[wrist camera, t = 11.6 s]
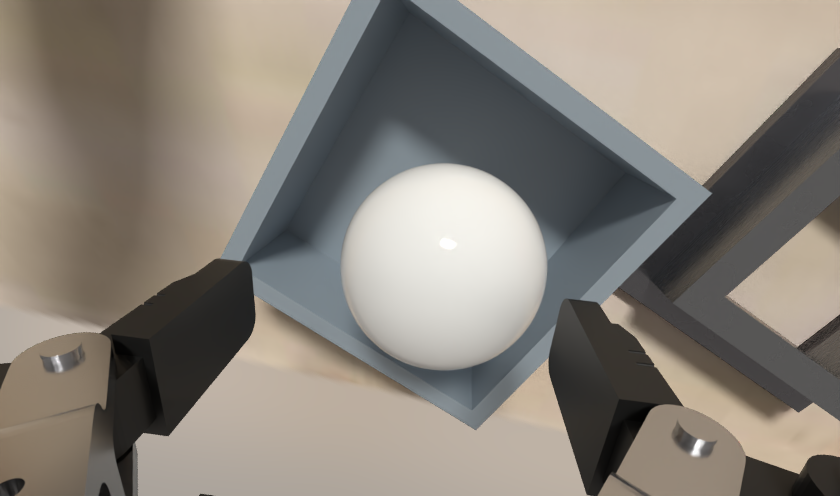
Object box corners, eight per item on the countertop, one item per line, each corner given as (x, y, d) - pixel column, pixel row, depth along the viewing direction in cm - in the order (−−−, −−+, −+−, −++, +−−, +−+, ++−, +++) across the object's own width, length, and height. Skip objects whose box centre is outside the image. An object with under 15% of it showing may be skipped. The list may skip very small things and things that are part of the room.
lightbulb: (397, 267, 22) (336, 422, 12) (378, 145, 20) (281, 203, 9) (520, 257, 21) (570, 416, 11) (513, 129, 19) (569, 172, 9)
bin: (271, 229, 22) (214, 270, 17) (405, -16, 18) (381, -58, 13) (473, 357, 24) (475, 430, 19) (647, 165, 19) (711, 193, 14)
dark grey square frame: (610, 279, 21) (632, 307, 19) (837, 48, 17) (910, 40, 14) (790, 404, 23) (834, 448, 20) (1043, 224, 18) (1145, 248, 16)
